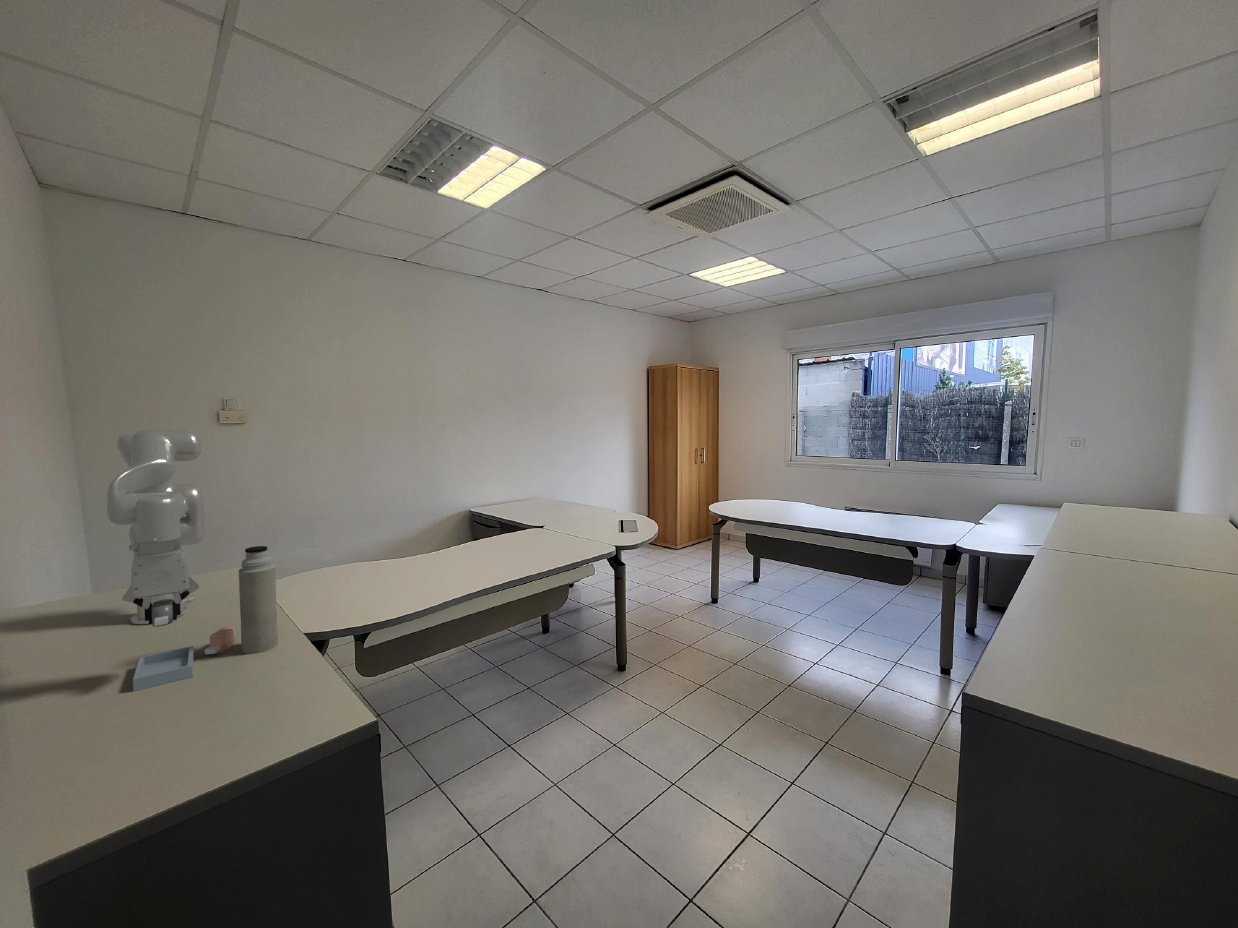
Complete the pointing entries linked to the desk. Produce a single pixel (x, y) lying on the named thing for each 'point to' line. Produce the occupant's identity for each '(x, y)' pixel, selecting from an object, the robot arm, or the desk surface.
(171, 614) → the graphite plug
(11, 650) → the desk surface
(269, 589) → the thermos bottle
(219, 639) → the terracotta plug
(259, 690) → the desk surface
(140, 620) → the robot arm
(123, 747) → the desk surface
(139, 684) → the tray
